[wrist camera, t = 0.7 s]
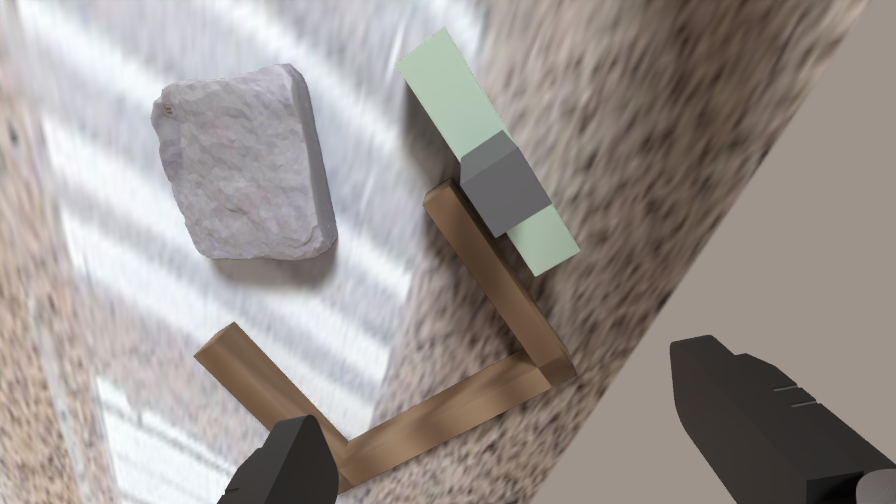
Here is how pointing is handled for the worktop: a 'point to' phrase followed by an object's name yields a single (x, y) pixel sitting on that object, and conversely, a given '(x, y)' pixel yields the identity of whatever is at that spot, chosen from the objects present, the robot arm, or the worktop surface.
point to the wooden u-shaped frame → (440, 414)
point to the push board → (469, 129)
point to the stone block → (247, 165)
